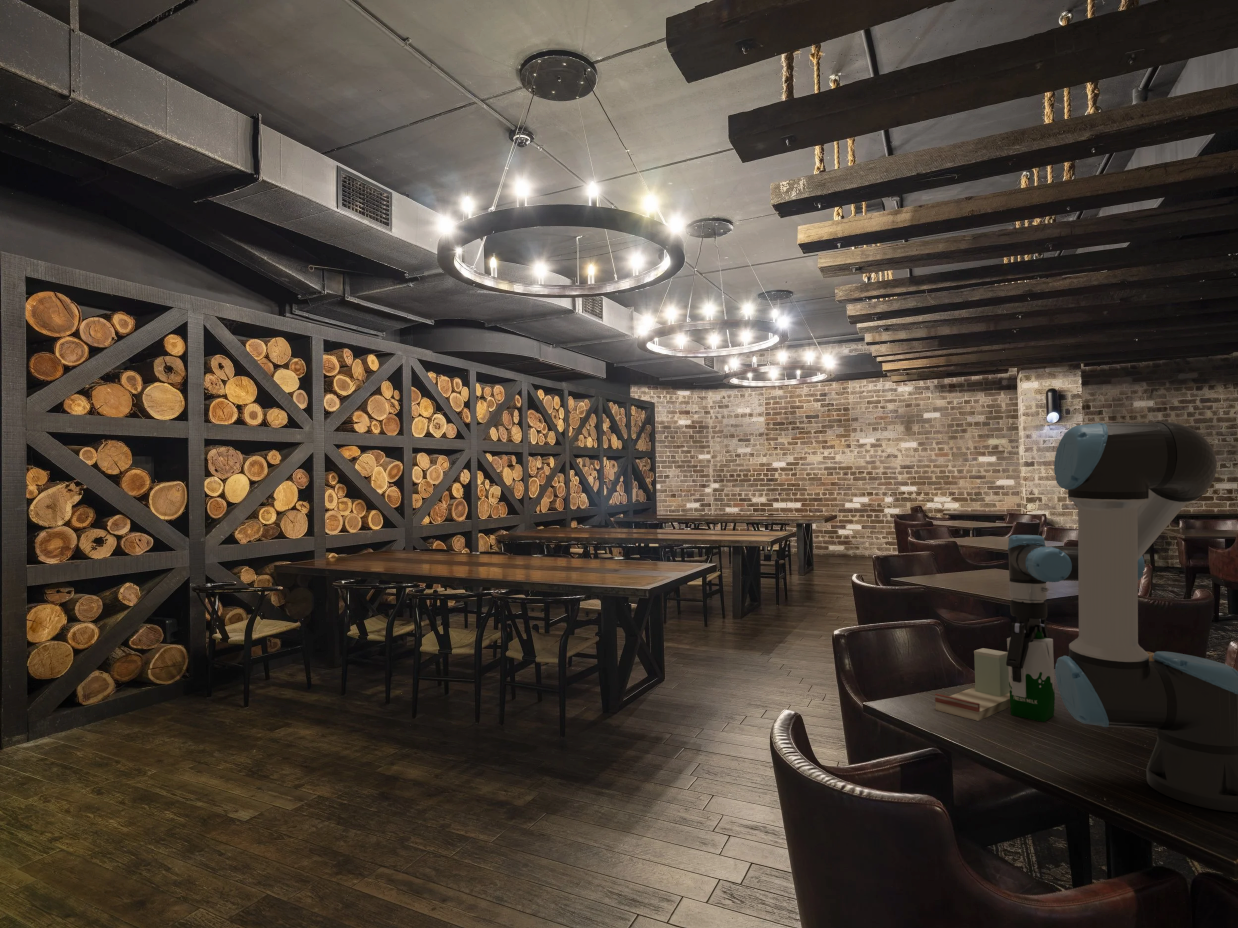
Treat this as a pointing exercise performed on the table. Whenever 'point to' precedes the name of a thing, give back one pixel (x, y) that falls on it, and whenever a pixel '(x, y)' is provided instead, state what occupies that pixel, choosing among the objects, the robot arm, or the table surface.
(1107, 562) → the robot arm
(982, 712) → the shelf board
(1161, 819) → the table surface
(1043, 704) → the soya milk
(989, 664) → the tea tin
